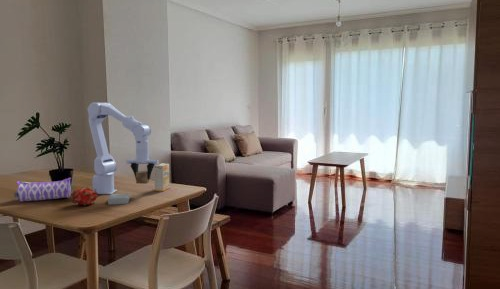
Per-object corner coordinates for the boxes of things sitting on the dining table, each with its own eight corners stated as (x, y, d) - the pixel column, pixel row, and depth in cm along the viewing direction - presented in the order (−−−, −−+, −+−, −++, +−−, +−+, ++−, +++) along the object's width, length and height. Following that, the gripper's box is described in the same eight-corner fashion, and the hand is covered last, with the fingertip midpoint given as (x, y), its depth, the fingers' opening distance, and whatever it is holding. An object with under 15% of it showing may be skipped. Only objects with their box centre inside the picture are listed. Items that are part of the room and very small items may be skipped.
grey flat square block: (108, 205, 161) (108, 198, 161) (111, 200, 169) (111, 194, 168) (127, 204, 162) (127, 197, 162) (129, 199, 170) (129, 193, 170)
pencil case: (14, 204, 160) (13, 182, 159) (19, 199, 169) (18, 178, 168) (71, 199, 168) (70, 179, 167) (72, 195, 177) (72, 175, 176)
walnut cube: (136, 183, 172) (135, 172, 172) (139, 181, 177) (138, 170, 177) (146, 183, 172) (146, 172, 172) (149, 181, 177) (149, 170, 177)
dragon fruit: (67, 210, 157) (96, 209, 165) (74, 202, 151) (103, 201, 159) (66, 192, 160) (94, 192, 168) (72, 183, 155) (101, 183, 163)
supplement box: (163, 191, 185) (163, 165, 184) (154, 191, 186) (154, 165, 185) (170, 188, 193) (169, 163, 192) (161, 187, 194) (161, 162, 193)
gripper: (124, 151, 169) (124, 180, 171) (155, 151, 169) (156, 180, 171) (128, 149, 176) (129, 177, 178) (159, 149, 176) (159, 177, 178)
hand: (142, 179), depth 175 cm, fingers closed on walnut cube, 5 cm apart
